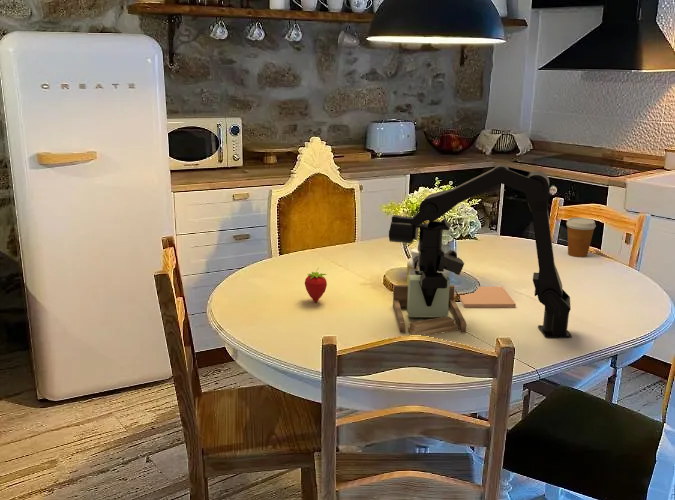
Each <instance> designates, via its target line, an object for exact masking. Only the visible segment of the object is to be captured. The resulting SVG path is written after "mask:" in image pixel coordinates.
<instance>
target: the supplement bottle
mask: <svg viewBox="0 0 675 500" xmlns="http://www.w3.org/2000/svg"><path fill="white" fill-rule="evenodd" d="M410 254H411V257H410V258H408V259H407V265H406V266H407V268H406V285H408V275H416V274H415V271H418V267H416V269H414V268H413V259H414V258H415V257H416V256H419V252H418V247H417V248H412V249H411V250H410Z"/></svg>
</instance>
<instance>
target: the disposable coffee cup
mask: <svg viewBox="0 0 675 500" xmlns="http://www.w3.org/2000/svg"><path fill="white" fill-rule="evenodd" d="M595 221H596V220H593V219H590V218H586V217H571V218H570V217H569V218H568V219H567V221H566V227H567V231H566V232H567V254H568V255H569V256H571V257H574V258H575V257H576V258H586V257H587V256H588V254H589V251H590V247H591V243H592V238H593V235H594V231H595V228H596V227H597V225H596V222H595Z"/></svg>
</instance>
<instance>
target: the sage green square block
mask: <svg viewBox="0 0 675 500" xmlns="http://www.w3.org/2000/svg"><path fill="white" fill-rule="evenodd" d="M443 275H444V276H445V277H446V279H447V288H438V289H437V291H436V293H435V296H434V299H433V302H432V305H431V306H427V305H426V302H425V299H424V296H423V293H422V290H421V287H420V284H419V281H420V276H421V275H408V299H407V308H406V312H407V317H408V318H440V317H446V316H449V308H448V304H449V287H450V285H451V284H450V283H451V279H450V278H449V276H448V275H447V274H443Z"/></svg>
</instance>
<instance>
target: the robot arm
mask: <svg viewBox="0 0 675 500" xmlns="http://www.w3.org/2000/svg"><path fill="white" fill-rule="evenodd" d="M498 185H504V186H507V187H510V188H511V189H514V190H516V191H518V192H522V193H524V194H523V195H524V196H525V199H526V202H527V205H528V208H529V210H530V213H531V217H532V223H533V224H532V226H533V233H534V239H535V247H536V254H537V263H538V264H537V265H538V272H533V275H532V283H533V286H534V297H536V296H537V299H538V302H539V303H541V304H542V305H543V306H544V311H543V313H544V314H543V322H542V325H540V324H539V325H538V326H537V329H538V330H539V331H540V332H541V334H542V335H543V336H544V337H545V338H572V337H573V335H572V334H571V332H570V331H569V330H568V326H569V316H570V311H571V296H569V294H568V293H567V292H566V291H565V290H564V289H563V283H562V281H561V280H562V279H561V277H560V275H559V272H558V268H557V267H556V263H555V256H554V255H555V254H554V250H553V249H554V248H553V241H552V233H551V226H550V225H551V224H550V217H549V209H548V208H549V193H550V192H549V191H550V178H549V176H548V175H547V174H546V173H545V172H543V171H540V170H534V171H528V170H524V169H521V168H516V167H515V168H514V167H512V166H508V165H506V164H501V163H499V164H497V165H496V166H494V168H492V169H490V170H488V171H486V172H483V173H482V174H480V175H478V176H476V177H473V178H471V179H470V180H467V181H465V182H463V183H462V184H459V185H458V186H455V187H453V188H450V189H447V190H446V189H445V190H440V191H437V192H434V193H430V194H428V195H427V196H425V198H423V200H422V201H421V202H420V204H419V207H418V212H416V213H415V214H414V215H413V216H405V215H404V216H401V215H398V214H393V216H391V222H390V227H389V230H388V239H389V242H390V243H391V242H392V243H400V244H401V243H402V244H413V243H414V241H417V240H418V237H419V241H418V246H417V248H418V252H419V256H416V257H415V258H414V259H413V268H414V269H416V267H418V271H415V274H416V275H421V276H420V281H419V284H420V287H421V290H422V293H423V296H424V299H425V302H426V305H427V306H431V305H432V302H433V299H434V296H435V293H436V291H437V289H438V288H447V279H446V277H445V276H444V275H445V274H444V273H442V272H445V271H449V272H450V273H454V274H455V275H458V276H460V274H461V272H462V270H463V268H464V265H465V262H464V261H463V260H462V258H461V257H458V255H457V251H456V250H452V249H449V251H448V252H444V251H443V232H444V231H449V230H450V228H451V227H452V224H450V222H448V221H447V219H446V218H443V219H442V220H441V221H439V220H438V219H439V218H440V219H441V217H442V216H444V215H445V214H446V213H448V212H449V211H450V210H452V209H453V208H454V207H455V206H457V205H459V204H461V203H463V202H465V201H467V200H469V199H471V198H472V197H475V196H477V195H479V194H481V193H483V192H486V191H487V190H489V189H492V188H494V187H495V186H498ZM426 221H428V222H426ZM444 270H445V271H444Z"/></svg>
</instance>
